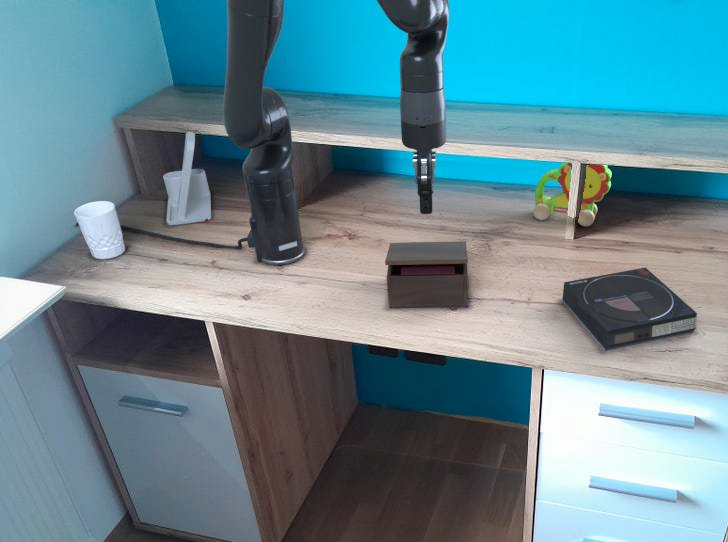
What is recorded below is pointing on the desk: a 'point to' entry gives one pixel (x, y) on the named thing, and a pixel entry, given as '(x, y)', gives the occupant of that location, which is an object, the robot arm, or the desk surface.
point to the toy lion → (593, 191)
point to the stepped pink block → (428, 270)
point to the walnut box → (427, 288)
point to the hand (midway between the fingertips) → (426, 212)
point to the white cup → (101, 229)
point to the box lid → (427, 253)
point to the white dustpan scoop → (187, 190)
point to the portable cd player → (628, 308)
